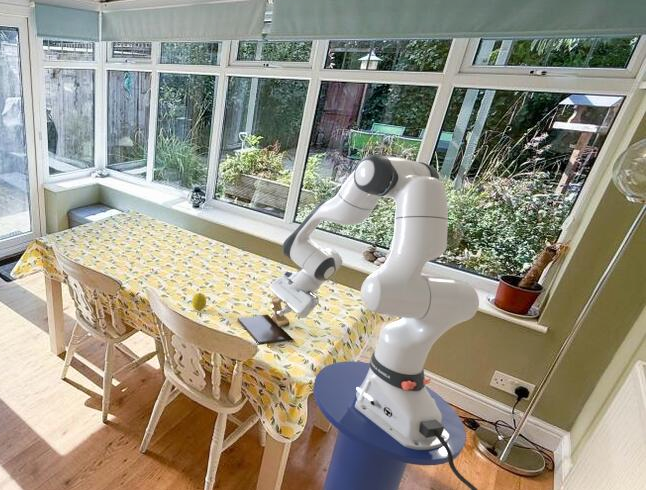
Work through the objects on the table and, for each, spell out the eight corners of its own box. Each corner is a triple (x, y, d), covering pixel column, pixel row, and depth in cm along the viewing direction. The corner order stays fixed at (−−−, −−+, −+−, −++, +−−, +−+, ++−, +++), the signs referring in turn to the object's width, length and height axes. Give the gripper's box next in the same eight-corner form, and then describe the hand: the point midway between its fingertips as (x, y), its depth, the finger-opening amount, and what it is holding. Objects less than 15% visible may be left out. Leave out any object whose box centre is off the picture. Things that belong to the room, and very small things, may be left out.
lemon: (191, 313, 162) (192, 295, 159) (191, 305, 167) (193, 288, 164) (205, 314, 161) (207, 297, 158) (205, 307, 166) (207, 290, 163)
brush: (289, 324, 151) (284, 300, 146) (280, 329, 150) (274, 304, 146) (282, 317, 155) (276, 293, 151) (272, 322, 155) (267, 297, 150)
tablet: (308, 338, 148) (308, 335, 148) (258, 345, 143) (259, 342, 143) (283, 315, 162) (283, 312, 162) (237, 320, 158) (237, 317, 157)
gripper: (325, 304, 141) (296, 332, 142) (291, 278, 160) (265, 302, 161) (317, 294, 138) (286, 322, 139) (282, 268, 157) (256, 293, 158)
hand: (275, 311), depth 150 cm, fingers closed on brush, 3 cm apart
